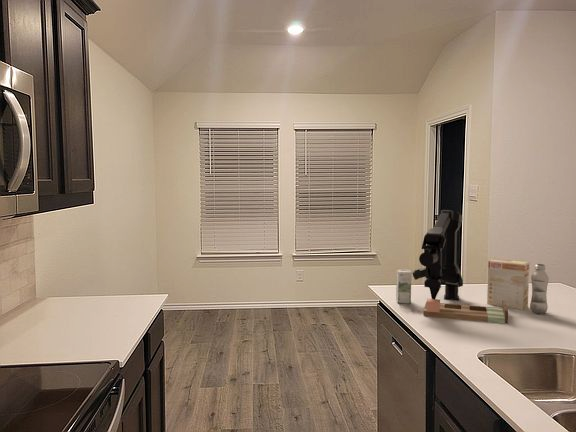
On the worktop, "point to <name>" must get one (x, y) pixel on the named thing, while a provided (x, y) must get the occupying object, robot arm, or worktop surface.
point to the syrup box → (403, 287)
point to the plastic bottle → (539, 289)
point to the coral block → (433, 305)
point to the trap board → (471, 312)
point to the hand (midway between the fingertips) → (433, 299)
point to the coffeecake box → (508, 283)
